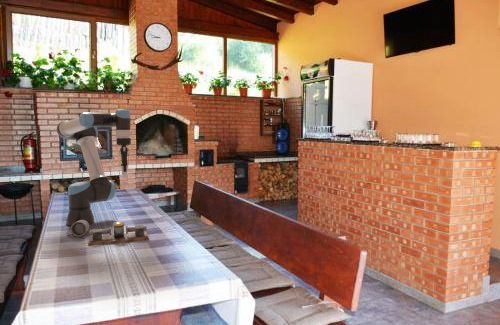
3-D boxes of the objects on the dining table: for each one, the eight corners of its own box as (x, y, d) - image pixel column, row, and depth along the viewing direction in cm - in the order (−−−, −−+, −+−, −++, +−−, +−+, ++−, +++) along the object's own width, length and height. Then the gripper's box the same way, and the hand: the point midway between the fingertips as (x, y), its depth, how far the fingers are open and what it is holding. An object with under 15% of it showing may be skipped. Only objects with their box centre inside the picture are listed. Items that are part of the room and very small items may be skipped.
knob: (110, 237, 194) (110, 223, 193) (118, 234, 199) (118, 221, 198) (119, 238, 192) (118, 224, 191) (127, 235, 197) (126, 222, 196)
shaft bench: (88, 245, 186) (87, 232, 185) (89, 239, 196) (88, 226, 195) (148, 240, 195) (148, 227, 194) (146, 234, 205) (146, 221, 205)
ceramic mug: (90, 231, 209) (89, 217, 208) (86, 236, 201) (85, 221, 200) (69, 233, 207) (68, 218, 206) (64, 237, 199) (63, 222, 198)
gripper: (131, 138, 204) (132, 178, 206) (129, 136, 227) (130, 172, 229) (116, 138, 201) (117, 179, 204) (116, 136, 225) (117, 173, 227)
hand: (124, 176), depth 216 cm, fingers open, 13 cm apart
